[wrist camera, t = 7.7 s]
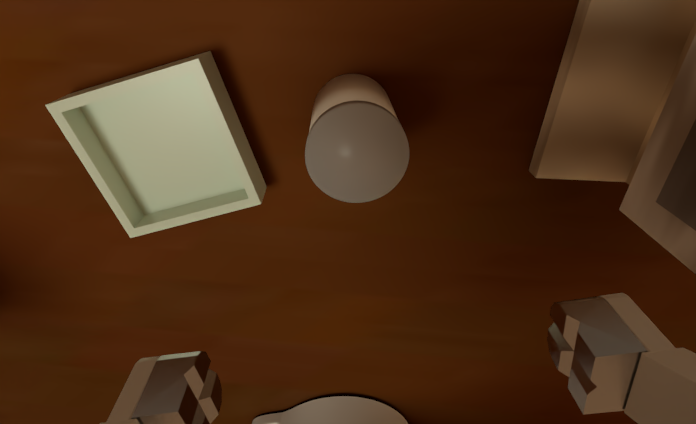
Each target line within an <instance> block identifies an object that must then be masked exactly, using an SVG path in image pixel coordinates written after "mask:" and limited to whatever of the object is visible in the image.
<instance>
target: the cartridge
mask: <svg viewBox="0 0 696 424" xmlns="http://www.w3.org/2000/svg"><path fill="white" fill-rule="evenodd" d="M305 162H306V167H307V170H308V172H309V175H310V177H311V178H312V180H313V182H314V183H315V184H316V185H317V187H319V188H320V189H321V190H322V191H323V192H324V193H326V194H327V195H329V196H331V197H332V198H335V199H337V200H340V201H344V202H350V203H361V202H368V201H372V200H375V199H377V198H380V197H382V196H384V195H385V194H387V193H388V192H390V191H391V190H392V189H393V188H394V187H395V186H396V185H397V184H398V183H399V182H400V180H401V179H402V177H403V175H404V174H405V171H406V169H407V166H408V162H409V144H408V140H407V137H406V135H405V132H404V130H403V128H402V126H401V124H400V122H399V121H398V118H397V116H396V114H395V111H394V109H393V107H392V104H391V102H390V100H389V97H388V95H387V93H386V92H385V90H384V89H383V88H382V86H381V85H380V84H379V83H377V82H376V81H375V80H373V79H372V78H370V77H368V76H365V75H361V74H344V75H340V76H338V77H335V78H333V79H331V80H330V81H329V82H327V83H326V84H325V85H324V86H323V87H322V88H321V90H320V91H319V92H318V94H317V96H316V98H315V101H314V105H313V111H312V117H311V123H310V130H309V134H308V137H307V142H306V148H305Z"/></svg>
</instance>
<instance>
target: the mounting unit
mask: <svg viewBox="0 0 696 424" xmlns="http://www.w3.org/2000/svg"><path fill="white" fill-rule="evenodd" d="M529 172H530V173H531V174H532V175H533V176H534V177H535V178H546V179H568V180H590V181H612V182H626V183H627V184H629V188H628V190H627V192H626V194H625V197H624V199H623V201H622V204H621V206H620V208H619V210H620V211H621V212H622V213H623V214H625V215H626V216H627V217H628V218H629V219H630V220H632V221H633V222H634V223H635V224H636V225H638V226H639V227H640V228H641V229H642V230H644V231H645V232H646V233H647V234H648V235H649V236H651V237H652V238H653V239H654V240H655V241H657V242H658V243H659V244H660V245H661V246H663V247H664V248H665V249H666V250H667V251H669V252H670V253H671V254H672V255H673V256H674V257H676V258H677V259H678V260H679V261H680V262H682V263H683V264H684V265H685V266H686V267H688V268H689V269H690V270H691V271H692V272H694V273H695V274H696V0H579V3H578V7H577V10H576V13H575V17H574V20H573V23H572V27H571V30H570V33H569V37H568V40H567V43H566V47H565V50H564V53H563V57H562V60H561V64H560V67H559V70H558V74H557V77H556V80H555V84H554V87H553V90H552V94H551V97H550V100H549V104H548V107H547V110H546V114H545V117H544V120H543V124H542V127H541V130H540V134H539V137H538V140H537V144H536V147H535V150H534V154H533V157H532V161H531V164H530V167H529Z"/></svg>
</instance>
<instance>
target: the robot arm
mask: <svg viewBox="0 0 696 424" xmlns="http://www.w3.org/2000/svg"><path fill="white" fill-rule="evenodd" d="M550 316H551V318H552V319H553V321H554V324H553V325H552V326H551V327H550V328H549V329H548V337H547V341H548V346H549V352H550V354H551V357H552V359H553V362H554V363H555V365H556V367H557V369H558V370H559V371H560V372H562V373H563V374H565V375H566V376H568V377H569V383H568V389H569V391H570V392H571V394H572V396H573V398H574V399H575V401H576V403H577V405H578V406H579V408H580V410H581V412H582V413H583V415H584V414H594V413H605V412H615V411H624V413H625V414H626V415H628V416H629V417H630V418H632V419H633V420H634V421H635V422H637V423H638V424H696V353H693V352H691V351H689V350H687V349H685V348H675V347H674V346H673V345H672V343H671V342H670V341H669V340H668V339H667V338H666V337H665V336H664V335H663V334H662V332H661V331H660V330H659V329H658V328H657V327H656V326H655V325H654V324H653V323H652V321H651V320H650V319H649V318H648V317H647V316H646V315H645V314H644V313H643V312H642V310H641V309H640V308H639V307H638V306H637V305H636V304H635V303H634V302H633V301H632V299H631V298H630V297H629V296H628V295H626V294H624V293H616V294H610V295H603V296H598V297H597V296H595V297H588V298H581V299H575V300H568V301H561V302H554V303H553V305H552V306H551V311H550ZM210 362H211V360H210V359H209V357H208V355H207V353H206V352H203V351H199V352H190V353H181V354H172V355H163V356H157V357H148V358H141V359H140V360H139V361H138V362H137V363H136V364H135V365H134V367H133V369H132V371H131V373H130V376H129V378H128V380H127V382H126V384H125V386H124V388H123V390H122V392H121V394H120V396H119V398H118V400H117V402H116V404H115V406H114V408H113V410H112V412H111V414H110V416H109V418H108V420H107V422H105V423H100V424H210V423H211V422H212V421H213V420H214V419H215V418H216V417H217V416H218V414H219V411H220V407H221V402H222V388H221V383H220V380H219V377H218V375H217V373H215V372H213V371H212V370H210V369H209V366H210ZM252 424H408V423H407V421H406V420H405V418H404V417H403V416H402V415H401V414H400V413H399V412H397V411H396V410H394V409H393V408H391V407H389V406H387V405H385V404H383V403H380V402H378V401H375V400H371V399H366V398H361V397H352V396H335V397H326V398H320V399H316V400H312V401H309V402H306V403H303V404H301V405H298V406H296V407H294V408H292V409H290V410H287V411H285V412H281V413H274V414H267V415H262V416H259V417H257V418H255V419H254V420H253V422H252Z"/></svg>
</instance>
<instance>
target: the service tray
mask: <svg viewBox="0 0 696 424" xmlns="http://www.w3.org/2000/svg"><path fill="white" fill-rule="evenodd" d="M45 106H46V107H47V109H48V110H49V112H50V113H51V115H52V117H53V118H54V120H55V121H56V123H57V124H58V126H59V127H60V129H61V131H62V132H63V134H64V135H65V137H66V138H67V140H68V141H69V143H70V145H71V146H72V148H73V149H74V151H75V152H76V154H77V155H78V157H79V159H80V160H81V162H82V163H83V165H84V166H85V168H86V170H87V171H88V173H89V174H90V176H91V177H92V179H93V180H94V182H95V184H96V185H97V187H98V188H99V190H100V191H101V193H102V194H103V196H104V198H105V199H106V201H107V202H108V204H109V205H110V207H111V208H112V210H113V212H114V213H115V215H116V216H117V218H118V219H119V221H120V223H121V224H122V226H123V227H124V229H125V230H126V232H127V233H128V235H129V237H130V238H132V237H136V236H140V235H144V234H148V233H152V232H156V231H159V230H163V229H167V228H171V227H175V226H179V225H182V224H186V223H190V222H194V221H198V220H202V219H206V218H209V217H213V216H217V215H221V214H225V213H229V212H232V211H236V210H240V209H244V208H248V207H252V206H256V205H259V204H261V203H262V200H263V197H264V194H265V191H266V187H267V186H266V184H265V181H264V179H263V176H262V174H261V172H260V169H259V167H258V164H257V162H256V160H255V157H254V155H253V152H252V150H251V147H250V145H249V143H248V140H247V138H246V135H245V133H244V131H243V128H242V126H241V123H240V121H239V119H238V116H237V114H236V111H235V109H234V107H233V104H232V102H231V99H230V97H229V95H228V92H227V90H226V87H225V85H224V82H223V80H222V78H221V75H220V73H219V70H218V68H217V66H216V63H215V61H214V58H213V56H212V54H211V51H208V52H204V53H201V54H198V55H195V56H191V57H188V58H185V59H182V60H178V61H175V62H172V63H169V64H165V65H162V66H159V67H155V68H152V69H149V70H146V71H142V72H139V73H136V74H133V75H129V76H126V77H123V78H120V79H116V80H113V81H110V82H107V83H103V84H100V85H97V86H93V87H90V88H87V89H84V90H80V91H77V92H74V93H71V94H68V95H66V96H64V97H62V98H60V99H57V100H55V101H53V102H51V103H49V104H47V105H45Z"/></svg>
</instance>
